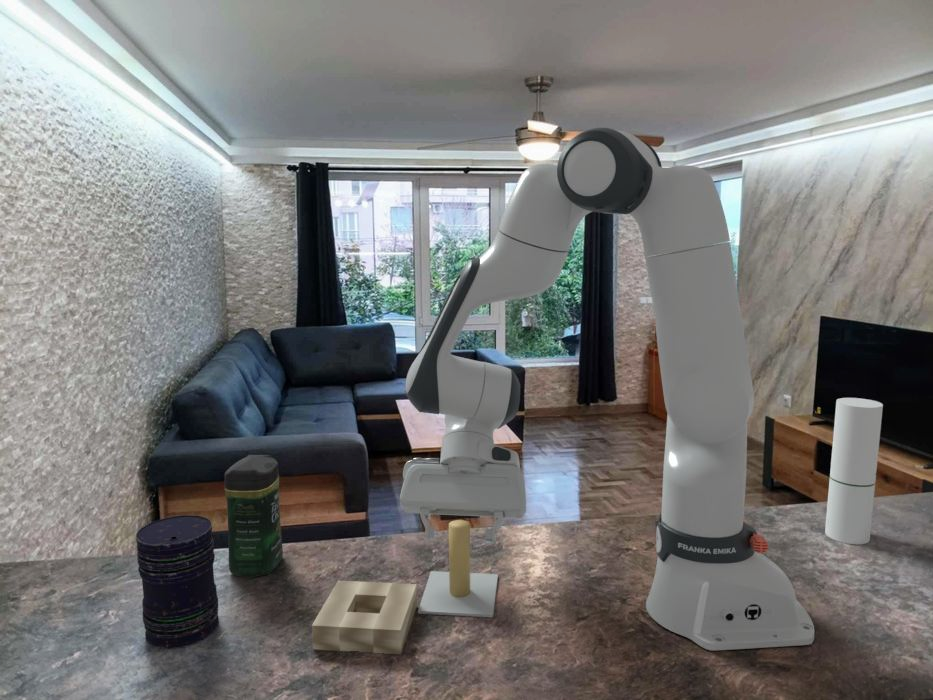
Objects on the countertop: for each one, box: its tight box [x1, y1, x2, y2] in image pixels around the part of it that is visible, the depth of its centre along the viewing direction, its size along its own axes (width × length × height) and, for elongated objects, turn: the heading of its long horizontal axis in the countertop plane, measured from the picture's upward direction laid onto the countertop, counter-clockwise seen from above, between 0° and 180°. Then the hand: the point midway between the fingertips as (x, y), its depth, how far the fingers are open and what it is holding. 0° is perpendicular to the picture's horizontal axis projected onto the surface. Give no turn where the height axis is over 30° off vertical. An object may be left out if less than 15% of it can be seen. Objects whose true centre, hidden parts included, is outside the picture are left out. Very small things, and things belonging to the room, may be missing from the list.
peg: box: [448, 519, 471, 597], centre depth 104 cm, size 3×3×11 cm
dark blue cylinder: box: [135, 514, 220, 650], centre depth 95 cm, size 10×10×15 cm
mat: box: [417, 570, 499, 618], centre depth 105 cm, size 11×12×1 cm
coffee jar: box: [223, 454, 284, 578], centre depth 113 cm, size 10×8×19 cm
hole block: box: [311, 580, 418, 655], centre depth 97 cm, size 12×12×4 cm
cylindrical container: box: [824, 397, 884, 546], centre depth 123 cm, size 7×7×25 cm
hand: (459, 540), depth 106 cm, fingers open, 8 cm apart
